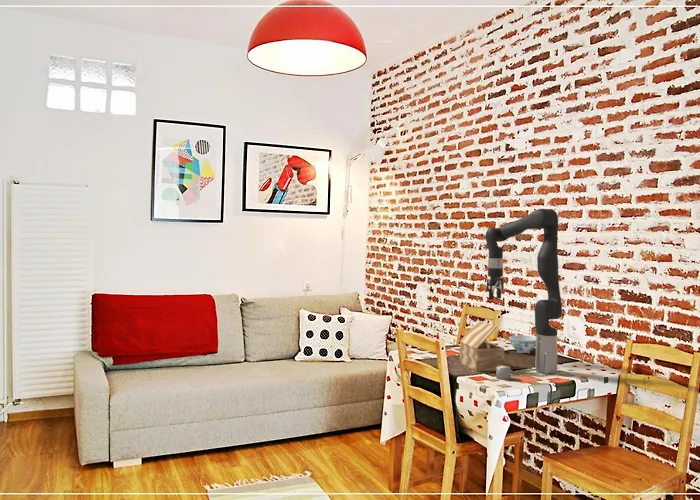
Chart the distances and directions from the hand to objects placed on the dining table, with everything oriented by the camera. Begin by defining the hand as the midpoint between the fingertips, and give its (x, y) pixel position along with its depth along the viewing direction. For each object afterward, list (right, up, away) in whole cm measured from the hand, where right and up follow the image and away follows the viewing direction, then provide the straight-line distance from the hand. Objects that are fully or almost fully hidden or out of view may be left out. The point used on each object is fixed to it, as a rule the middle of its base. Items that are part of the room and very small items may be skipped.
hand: (495, 299), depth 308 cm
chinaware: (+18, -30, +14) cm, 38 cm away
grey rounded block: (-6, -31, -42) cm, 53 cm away
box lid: (-13, -15, -21) cm, 29 cm away
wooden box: (-11, -30, -20) cm, 38 cm away
